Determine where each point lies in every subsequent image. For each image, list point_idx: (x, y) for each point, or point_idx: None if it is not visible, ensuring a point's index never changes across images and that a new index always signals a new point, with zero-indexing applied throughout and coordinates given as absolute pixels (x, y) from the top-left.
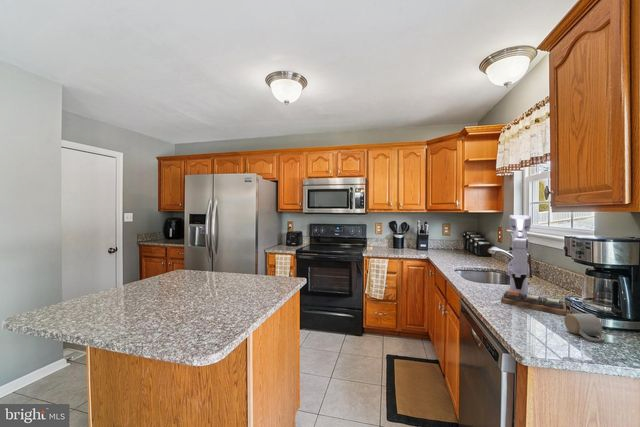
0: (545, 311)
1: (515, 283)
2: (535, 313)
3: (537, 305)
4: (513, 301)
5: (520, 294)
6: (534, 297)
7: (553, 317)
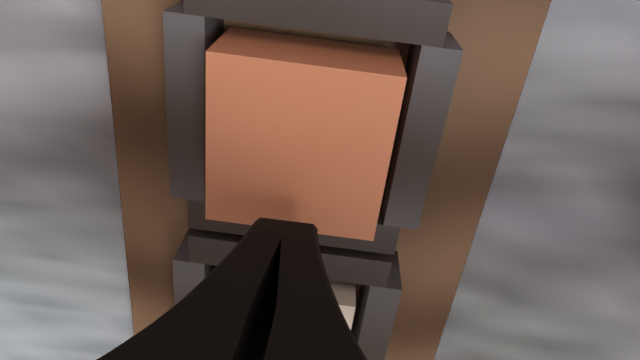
0: None
1: (203, 291)
2: (10, 255)
3: (144, 316)
4: (116, 92)
5: None
6: None
7: (30, 354)
